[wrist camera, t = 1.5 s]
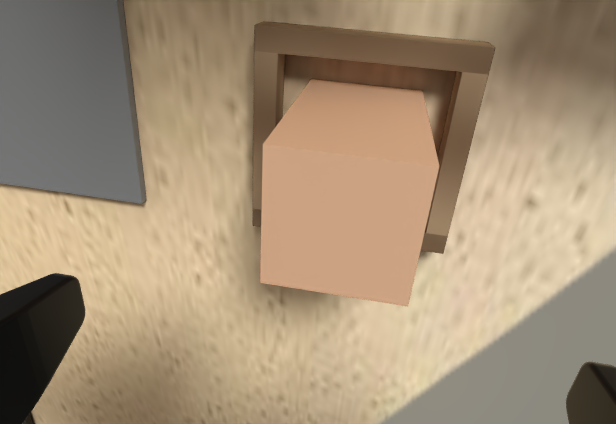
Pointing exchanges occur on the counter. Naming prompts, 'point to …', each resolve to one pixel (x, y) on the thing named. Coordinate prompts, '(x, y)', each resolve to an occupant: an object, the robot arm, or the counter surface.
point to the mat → (68, 99)
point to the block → (348, 191)
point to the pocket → (384, 50)
